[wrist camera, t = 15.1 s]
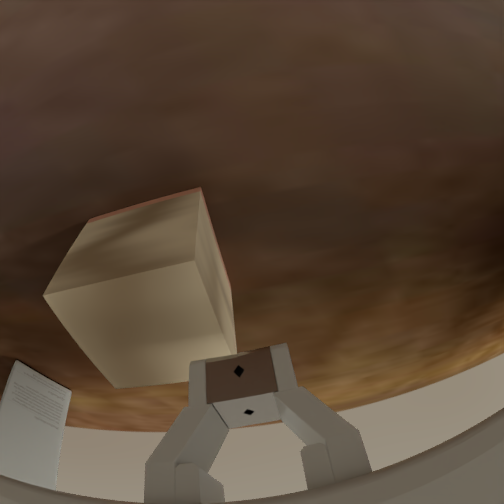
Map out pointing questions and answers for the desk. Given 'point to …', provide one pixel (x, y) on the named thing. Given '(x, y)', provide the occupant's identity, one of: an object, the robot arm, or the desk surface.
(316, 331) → the desk surface
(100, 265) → the birch cube
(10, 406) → the skincare box
